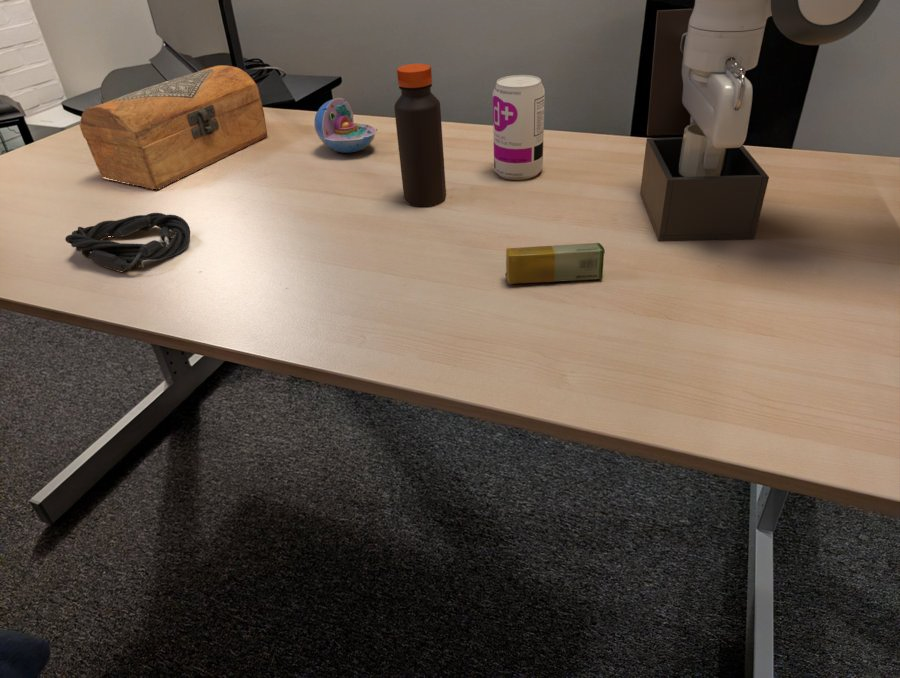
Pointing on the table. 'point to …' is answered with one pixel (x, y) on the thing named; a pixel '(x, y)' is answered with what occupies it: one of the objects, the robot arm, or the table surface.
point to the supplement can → (518, 126)
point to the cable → (125, 253)
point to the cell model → (341, 127)
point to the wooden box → (174, 126)
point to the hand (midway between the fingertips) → (702, 157)
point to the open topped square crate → (701, 195)
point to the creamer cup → (696, 154)
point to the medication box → (554, 263)
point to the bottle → (419, 137)
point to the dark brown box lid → (668, 75)
